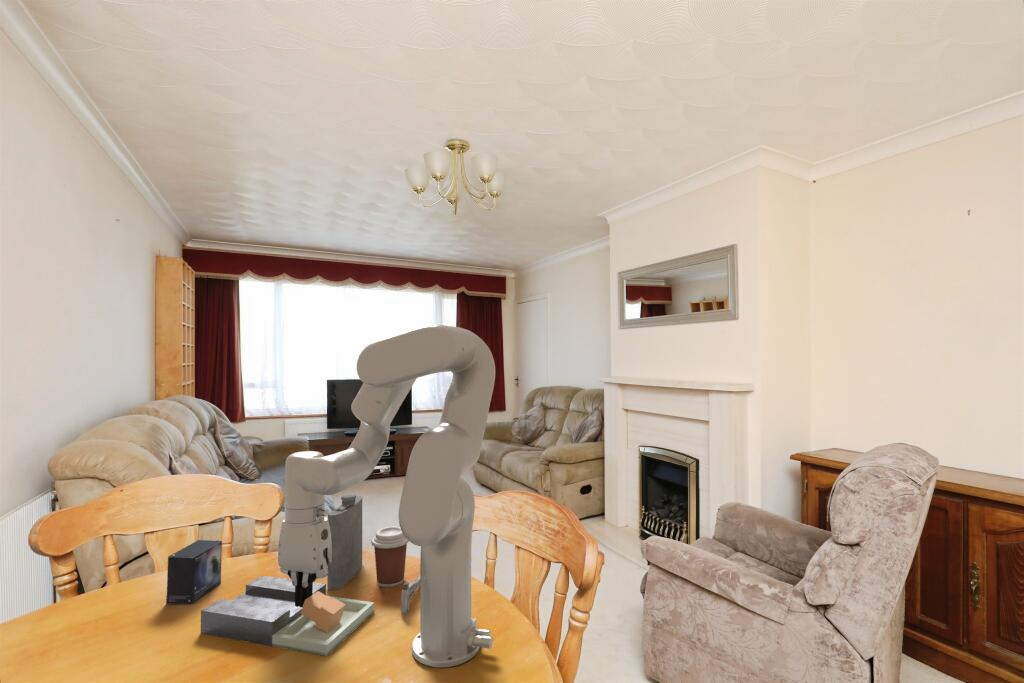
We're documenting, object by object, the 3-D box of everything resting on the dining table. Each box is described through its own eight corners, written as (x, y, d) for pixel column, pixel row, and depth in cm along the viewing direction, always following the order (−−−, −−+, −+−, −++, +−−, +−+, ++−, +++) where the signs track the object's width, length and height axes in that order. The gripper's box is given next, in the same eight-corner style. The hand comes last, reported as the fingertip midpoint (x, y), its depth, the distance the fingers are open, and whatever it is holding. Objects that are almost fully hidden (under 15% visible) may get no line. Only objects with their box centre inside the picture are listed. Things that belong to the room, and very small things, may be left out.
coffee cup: (363, 587, 116) (364, 536, 116) (382, 571, 124) (382, 523, 125) (399, 591, 113) (399, 539, 114) (415, 574, 122) (415, 526, 123)
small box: (193, 605, 108) (194, 557, 108) (164, 605, 108) (165, 557, 109) (223, 583, 119) (223, 539, 119) (196, 583, 119) (197, 539, 119)
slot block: (325, 604, 108) (325, 584, 108) (272, 646, 92) (272, 622, 92) (262, 595, 112) (262, 575, 112) (200, 633, 97) (200, 610, 97)
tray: (374, 612, 104) (374, 602, 104) (327, 656, 89) (327, 645, 89) (325, 604, 108) (325, 595, 108) (272, 646, 92) (272, 635, 92)
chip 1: (329, 613, 100) (333, 599, 100) (316, 623, 97) (320, 609, 96) (313, 604, 102) (318, 590, 101) (300, 613, 98) (304, 599, 98)
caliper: (406, 617, 103) (406, 587, 103) (400, 617, 103) (400, 587, 103) (429, 574, 123) (429, 549, 123) (425, 574, 123) (425, 549, 123)
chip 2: (328, 615, 100) (339, 622, 99) (315, 625, 96) (327, 633, 96) (333, 597, 100) (345, 604, 99) (320, 607, 96) (333, 614, 95)
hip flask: (352, 562, 130) (352, 486, 131) (367, 562, 130) (367, 486, 131) (325, 590, 114) (325, 504, 115) (341, 591, 114) (342, 504, 115)
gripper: (347, 510, 102) (346, 599, 101) (287, 504, 106) (285, 590, 105) (324, 522, 95) (323, 618, 94) (260, 515, 99) (259, 608, 98)
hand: (303, 603), depth 100 cm, fingers closed
